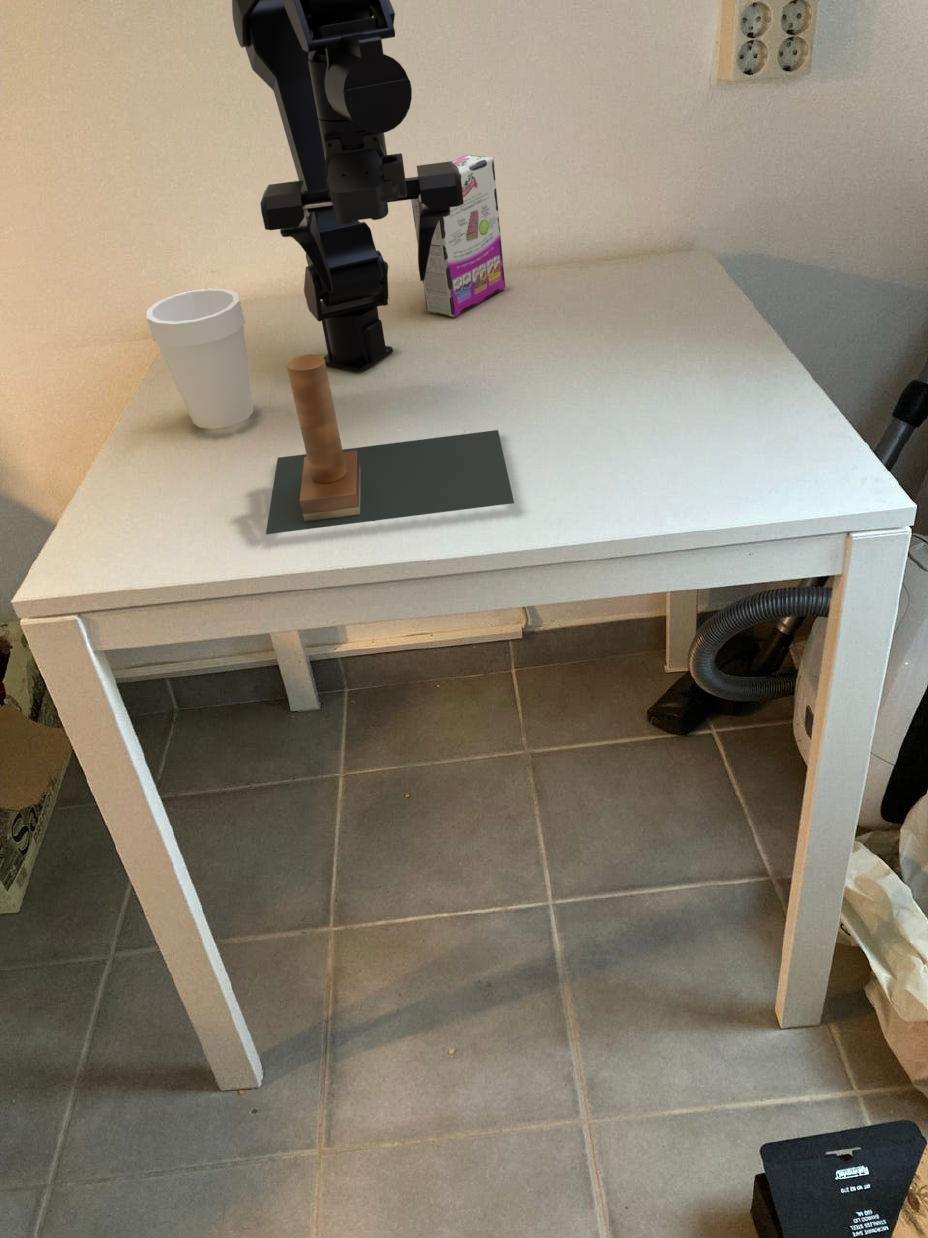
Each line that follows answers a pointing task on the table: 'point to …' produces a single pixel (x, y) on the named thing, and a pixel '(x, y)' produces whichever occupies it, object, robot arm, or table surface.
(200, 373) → the foam cup
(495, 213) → the candy bar box
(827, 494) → the table surface
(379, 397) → the table surface
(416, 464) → the board
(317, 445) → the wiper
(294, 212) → the robot arm
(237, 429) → the table surface
